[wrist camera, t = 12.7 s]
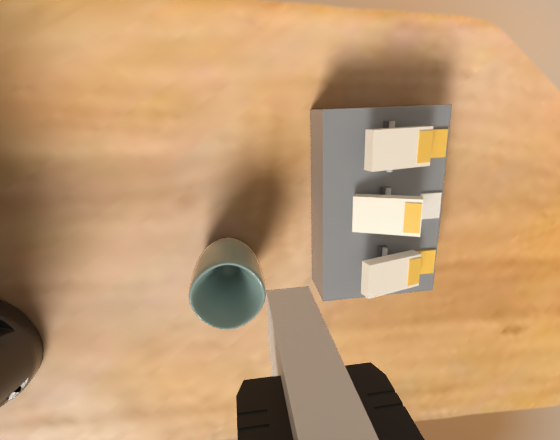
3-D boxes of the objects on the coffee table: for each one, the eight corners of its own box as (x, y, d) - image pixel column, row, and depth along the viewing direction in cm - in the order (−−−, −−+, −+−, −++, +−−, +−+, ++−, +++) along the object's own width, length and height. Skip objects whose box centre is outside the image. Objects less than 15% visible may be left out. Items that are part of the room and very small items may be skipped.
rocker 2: (353, 227, 41) (351, 232, 39) (354, 193, 40) (352, 196, 38) (419, 232, 38) (420, 237, 37) (422, 196, 37) (423, 199, 36)
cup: (228, 217, 45) (228, 247, 35) (270, 258, 47) (280, 296, 38) (184, 258, 45) (172, 298, 36) (227, 296, 48) (227, 343, 38)
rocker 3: (360, 293, 40) (368, 299, 39) (362, 260, 39) (370, 265, 38) (410, 280, 43) (419, 286, 42) (412, 249, 42) (422, 254, 40)
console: (312, 278, 49) (325, 307, 42) (310, 109, 42) (326, 109, 35) (409, 269, 50) (438, 295, 43) (422, 105, 44) (459, 104, 37)
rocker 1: (364, 169, 36) (372, 172, 35) (365, 129, 35) (374, 130, 34) (420, 164, 39) (430, 165, 37) (423, 125, 37) (434, 126, 36)
